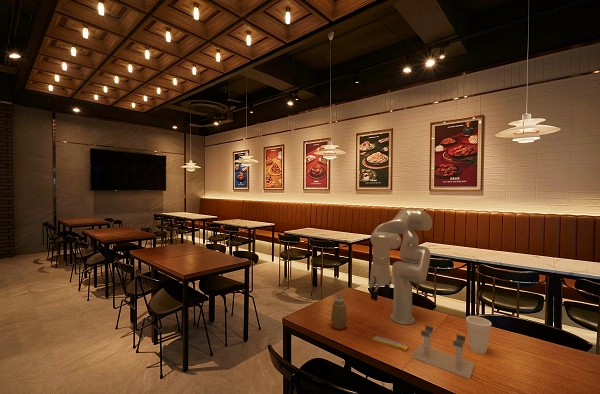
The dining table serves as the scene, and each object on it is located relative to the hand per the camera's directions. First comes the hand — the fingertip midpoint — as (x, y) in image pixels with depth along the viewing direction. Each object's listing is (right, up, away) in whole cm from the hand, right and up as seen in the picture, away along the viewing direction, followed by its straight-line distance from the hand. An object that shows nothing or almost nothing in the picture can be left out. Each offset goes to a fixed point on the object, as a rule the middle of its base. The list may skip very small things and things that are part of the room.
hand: (380, 297), depth 129 cm
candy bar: (+3, -21, -2) cm, 21 cm away
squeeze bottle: (-17, -20, +14) cm, 30 cm away
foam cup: (+41, -21, -6) cm, 47 cm away
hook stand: (+21, -21, -16) cm, 33 cm away
